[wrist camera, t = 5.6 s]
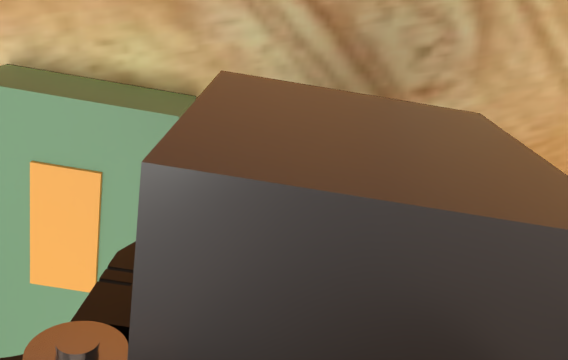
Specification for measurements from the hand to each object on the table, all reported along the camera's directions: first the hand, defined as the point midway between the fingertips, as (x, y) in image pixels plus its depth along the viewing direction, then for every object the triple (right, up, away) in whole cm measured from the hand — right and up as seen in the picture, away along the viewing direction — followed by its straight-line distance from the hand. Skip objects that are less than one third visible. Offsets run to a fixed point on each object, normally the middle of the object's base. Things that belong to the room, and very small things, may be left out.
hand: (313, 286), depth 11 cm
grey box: (0, 0, 0) cm, 0 cm away
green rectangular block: (-11, -2, +18) cm, 21 cm away
